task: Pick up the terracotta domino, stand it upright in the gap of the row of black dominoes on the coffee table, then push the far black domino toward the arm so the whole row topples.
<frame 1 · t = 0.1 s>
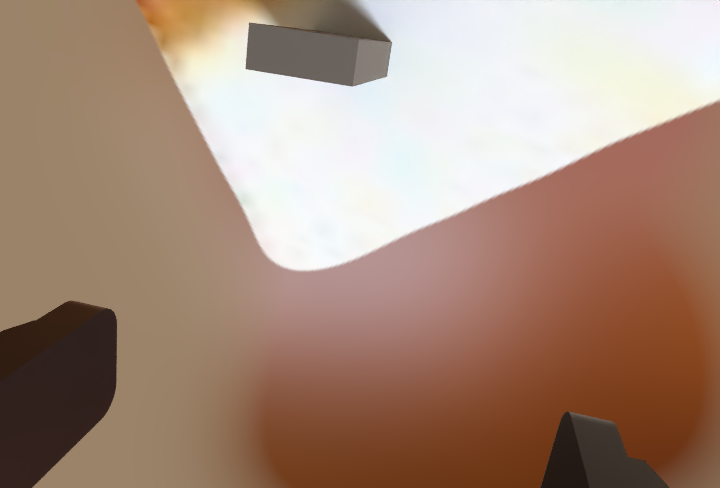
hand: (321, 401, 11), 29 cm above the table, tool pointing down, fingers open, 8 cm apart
domino 1: (349, 53, 37), on the table
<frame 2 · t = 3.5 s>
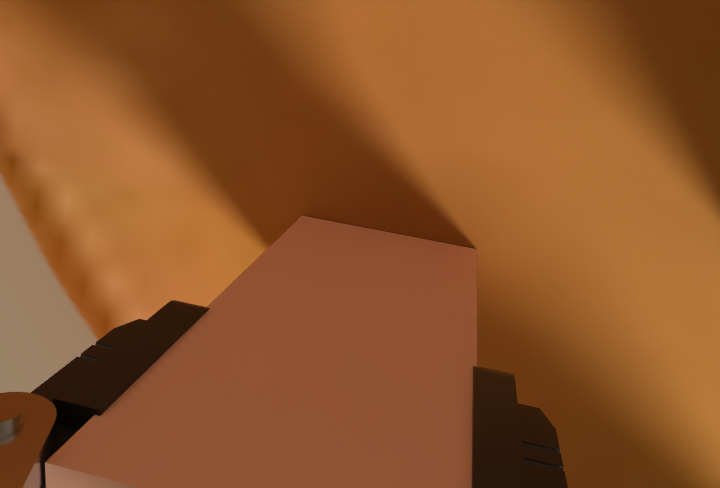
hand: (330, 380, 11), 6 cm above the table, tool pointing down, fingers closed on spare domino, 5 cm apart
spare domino: (382, 264, 17), on the table, touching gripper
when the fingers open (7 cm above the table, at t = 9.8 s): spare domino stays where it is, on the table.
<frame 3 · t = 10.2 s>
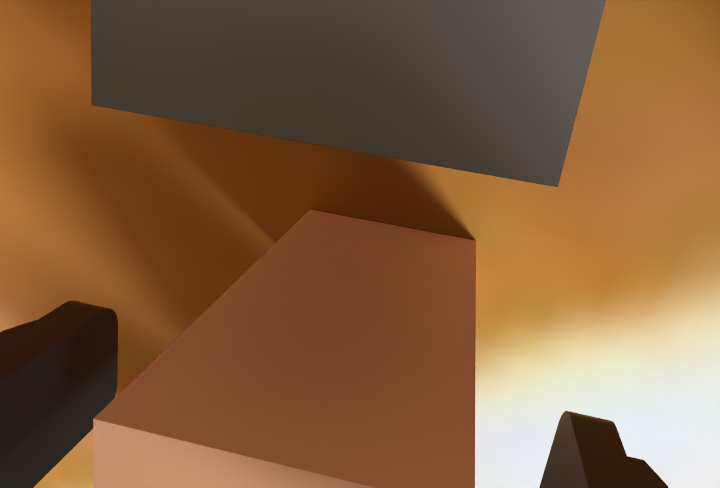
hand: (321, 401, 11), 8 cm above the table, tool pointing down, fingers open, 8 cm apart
domino 4: (420, 47, 16), on the table
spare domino: (386, 256, 18), on the table
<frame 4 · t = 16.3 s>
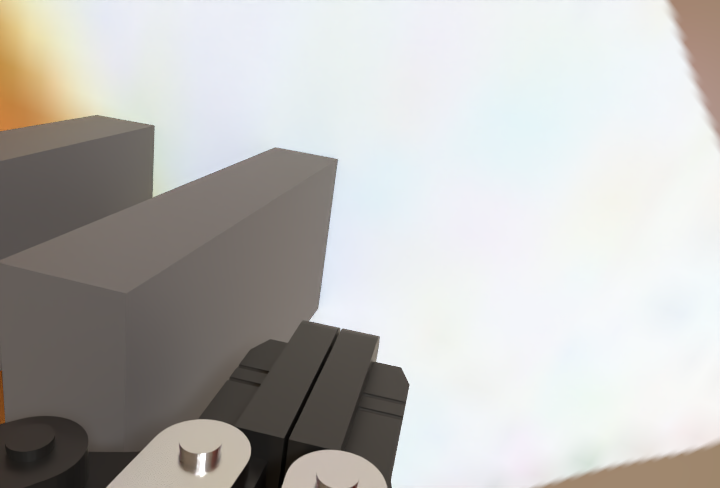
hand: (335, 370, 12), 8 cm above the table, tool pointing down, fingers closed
domino 2: (124, 195, 20), on the table
domino 1: (297, 230, 19), on the table, touching gripper
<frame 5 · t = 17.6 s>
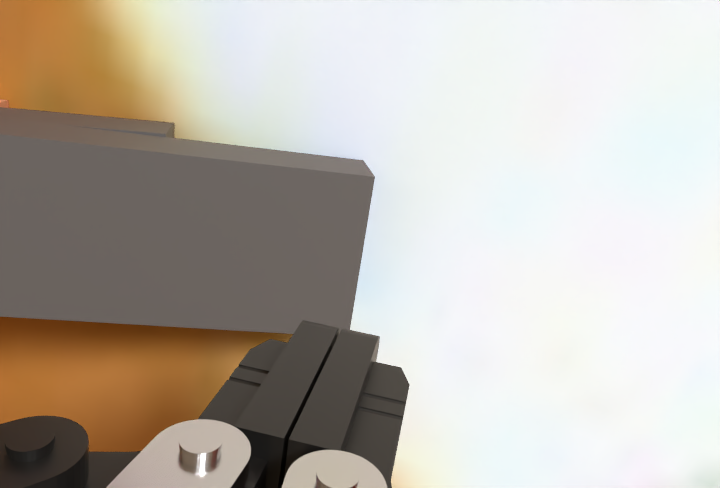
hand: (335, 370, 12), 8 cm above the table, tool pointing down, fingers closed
domino 2: (169, 207, 19), point 1 cm above the table, tilted 70°, touching domino 1, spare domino
domino 1: (355, 248, 18), point 1 cm above the table, tilted 71°, touching domino 2
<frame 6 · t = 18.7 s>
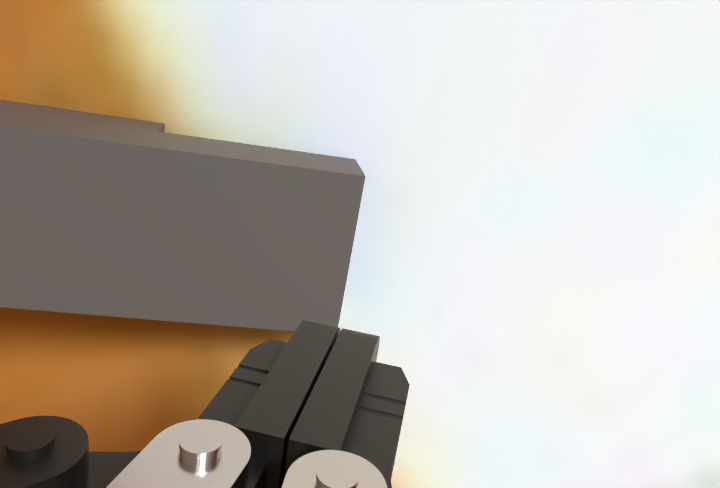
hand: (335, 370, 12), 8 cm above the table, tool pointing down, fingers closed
domino 2: (154, 207, 19), point 1 cm above the table, tilted 71°, touching domino 1, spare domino
domino 1: (345, 246, 18), point 1 cm above the table, tilted 71°, touching domino 2
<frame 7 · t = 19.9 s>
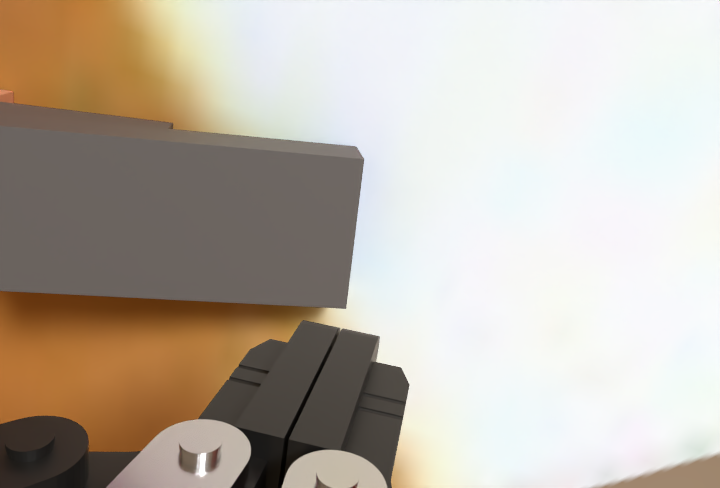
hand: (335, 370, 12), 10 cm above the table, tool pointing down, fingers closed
domino 2: (165, 199, 21), point 1 cm above the table, tilted 71°, touching domino 1, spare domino
domino 1: (351, 227, 20), point 1 cm above the table, tilted 72°, touching domino 2
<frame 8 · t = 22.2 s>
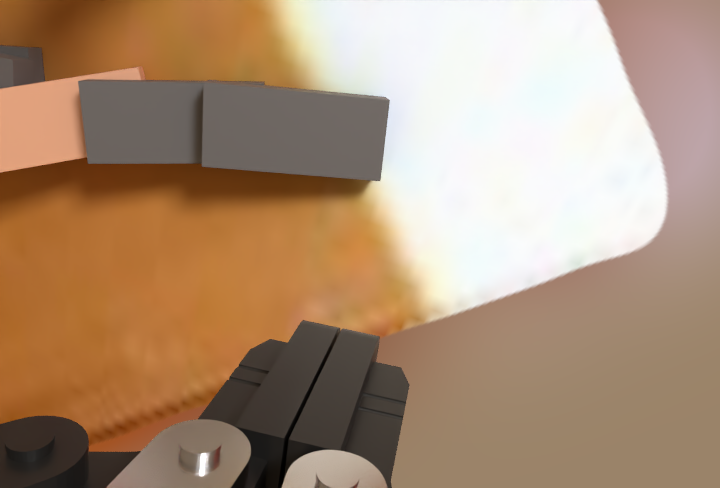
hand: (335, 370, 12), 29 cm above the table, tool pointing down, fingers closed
domino 4: (24, 98, 40), point 2 cm above the table, tilted 90°, touching domino 5, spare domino
domino 2: (265, 122, 39), point 1 cm above the table, tilted 73°, touching domino 1, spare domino
domino 5: (42, 85, 42), on the table, tilted 90°, touching domino 4
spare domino: (150, 105, 40), point 1 cm above the table, tilted 69°, touching domino 2, domino 4
domino 1: (382, 139, 38), point 1 cm above the table, tilted 74°, touching domino 2
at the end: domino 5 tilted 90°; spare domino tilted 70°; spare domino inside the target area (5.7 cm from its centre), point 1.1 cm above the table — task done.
